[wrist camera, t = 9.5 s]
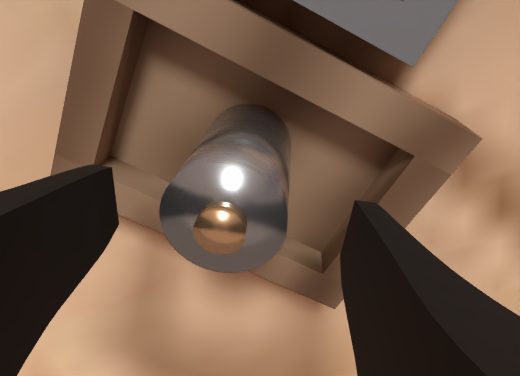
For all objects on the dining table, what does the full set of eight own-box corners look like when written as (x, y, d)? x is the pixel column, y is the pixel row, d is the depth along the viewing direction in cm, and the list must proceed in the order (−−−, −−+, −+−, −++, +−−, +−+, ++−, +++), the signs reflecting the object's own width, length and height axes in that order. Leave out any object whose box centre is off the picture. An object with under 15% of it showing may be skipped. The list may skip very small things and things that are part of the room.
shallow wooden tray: (455, 118, 14) (482, 138, 12) (330, 274, 19) (334, 309, 17) (131, -58, 13) (97, -71, 10) (79, 161, 17) (48, 184, 15)
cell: (295, 106, 14) (293, 179, 8) (287, 185, 16) (281, 291, 10) (207, 100, 14) (145, 166, 8) (208, 178, 16) (158, 277, 10)
